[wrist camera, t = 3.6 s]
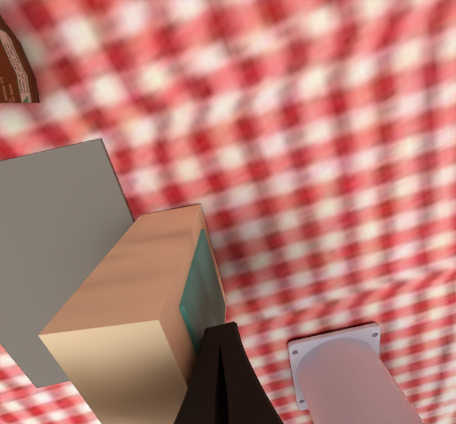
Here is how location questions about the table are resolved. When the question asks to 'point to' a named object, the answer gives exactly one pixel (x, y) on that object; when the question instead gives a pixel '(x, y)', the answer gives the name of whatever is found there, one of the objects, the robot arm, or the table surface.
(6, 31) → the food container
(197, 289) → the marked block
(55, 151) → the mat
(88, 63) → the table surface
